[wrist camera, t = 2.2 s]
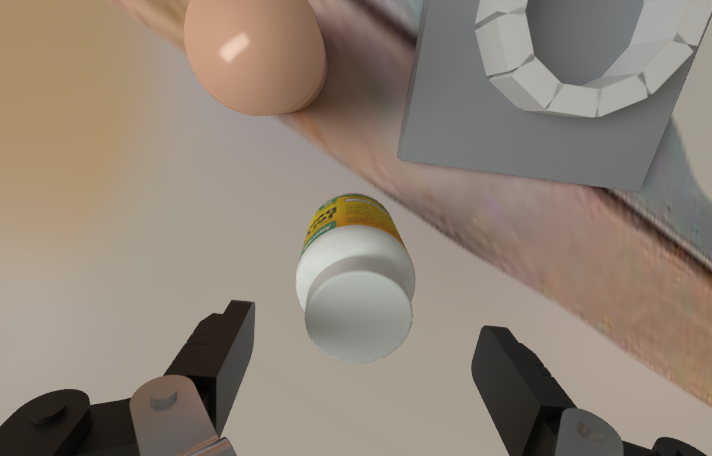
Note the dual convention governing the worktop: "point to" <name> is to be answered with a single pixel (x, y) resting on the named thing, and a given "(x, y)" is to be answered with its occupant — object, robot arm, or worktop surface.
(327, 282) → the supplement bottle
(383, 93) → the worktop surface
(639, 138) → the collar board
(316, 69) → the peach pill-shaped knob
